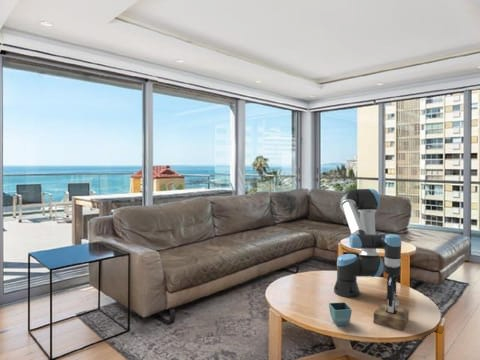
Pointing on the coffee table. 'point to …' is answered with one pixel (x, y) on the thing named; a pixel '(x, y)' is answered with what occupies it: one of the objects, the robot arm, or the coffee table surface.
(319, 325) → the coffee table surface
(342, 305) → the flower pot
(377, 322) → the block
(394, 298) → the grey metal peg
